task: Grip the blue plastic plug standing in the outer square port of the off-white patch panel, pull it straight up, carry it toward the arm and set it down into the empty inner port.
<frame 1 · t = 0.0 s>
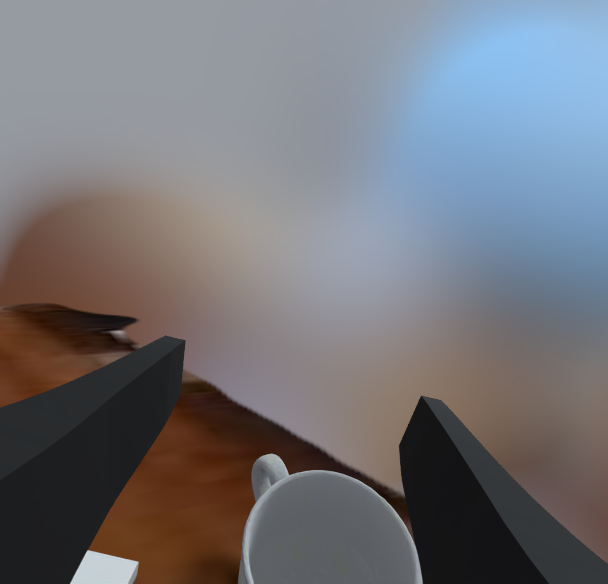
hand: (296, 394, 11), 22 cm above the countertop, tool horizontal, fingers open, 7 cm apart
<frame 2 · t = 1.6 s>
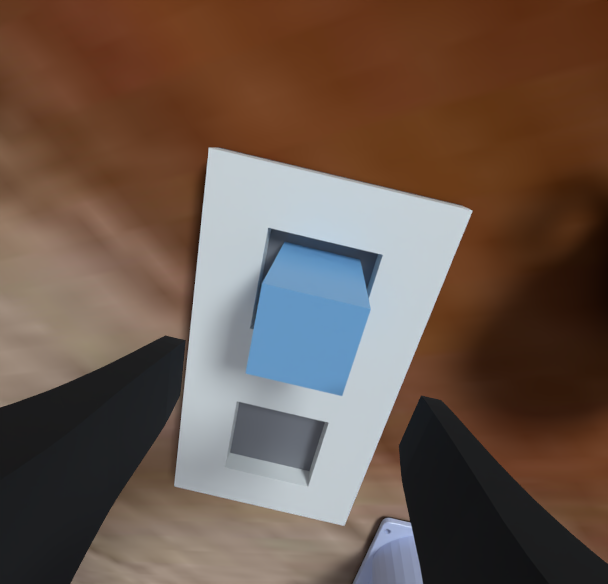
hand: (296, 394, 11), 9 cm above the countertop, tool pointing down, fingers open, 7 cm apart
plug: (313, 285, 19), resting on panel
panel: (294, 362, 21), on the countertop
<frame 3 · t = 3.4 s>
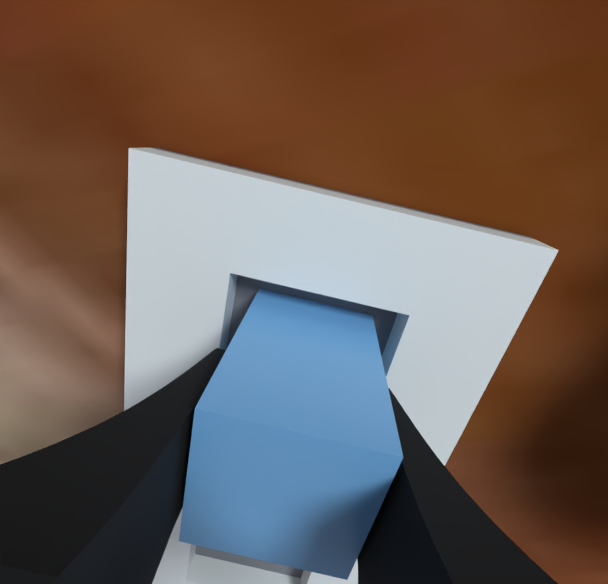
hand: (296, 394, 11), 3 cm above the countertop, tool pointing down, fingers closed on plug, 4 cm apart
plug: (303, 350, 13), resting on panel, touching gripper
panel: (278, 446, 15), on the countertop
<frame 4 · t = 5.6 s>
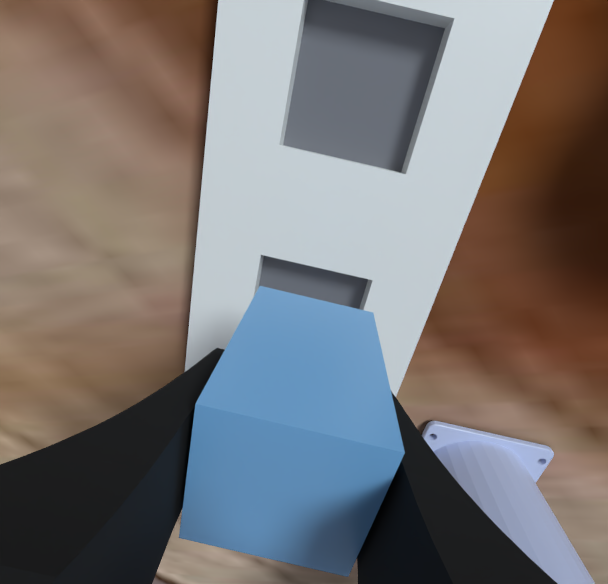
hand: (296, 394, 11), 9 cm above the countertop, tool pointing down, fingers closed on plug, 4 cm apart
plug: (304, 347, 13), point 7 cm above the countertop, touching gripper
panel: (329, 210, 18), on the countertop
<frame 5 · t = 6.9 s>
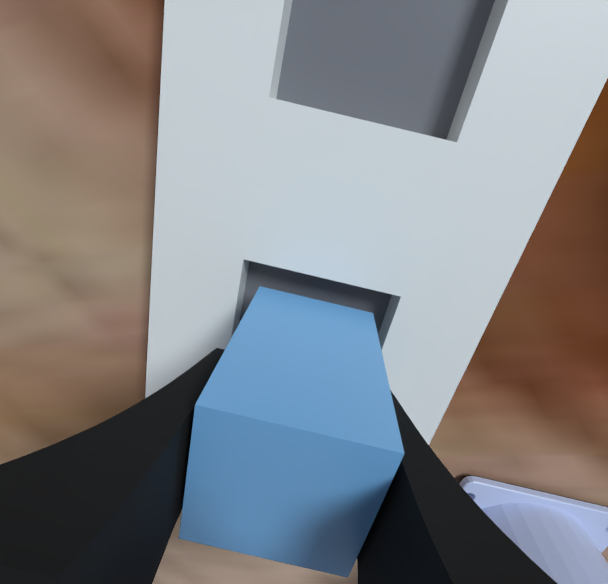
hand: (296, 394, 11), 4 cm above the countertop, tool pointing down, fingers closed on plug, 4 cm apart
plug: (303, 348, 13), point 2 cm above the countertop, touching gripper
panel: (340, 199, 13), on the countertop
when the fingers open (3 cm above the countertop, at t = 8.1 s): plug stays where it is, resting on panel.
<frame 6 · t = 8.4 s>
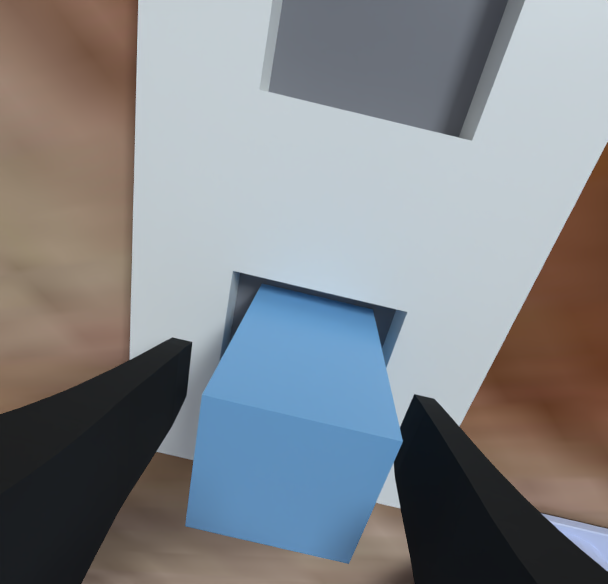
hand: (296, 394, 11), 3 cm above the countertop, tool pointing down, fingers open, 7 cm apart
plug: (305, 344, 13), resting on panel
panel: (340, 203, 11), on the countertop
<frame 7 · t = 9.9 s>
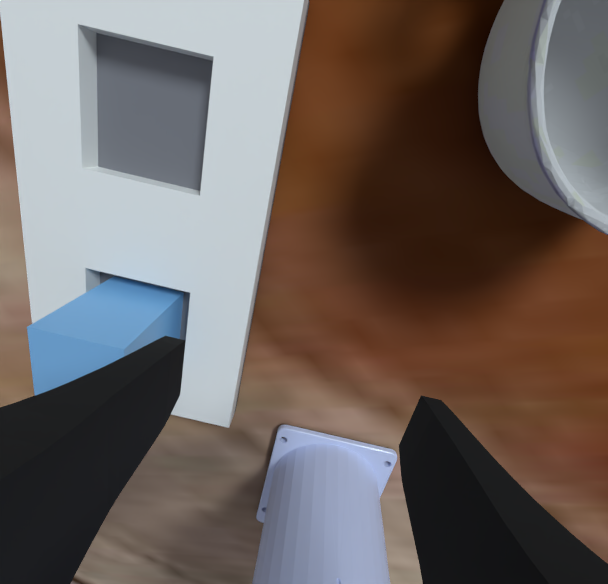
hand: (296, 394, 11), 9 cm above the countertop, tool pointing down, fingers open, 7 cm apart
plug: (147, 315, 20), resting on panel
panel: (154, 227, 19), on the countertop
teacup: (575, 39, 14), on the countertop
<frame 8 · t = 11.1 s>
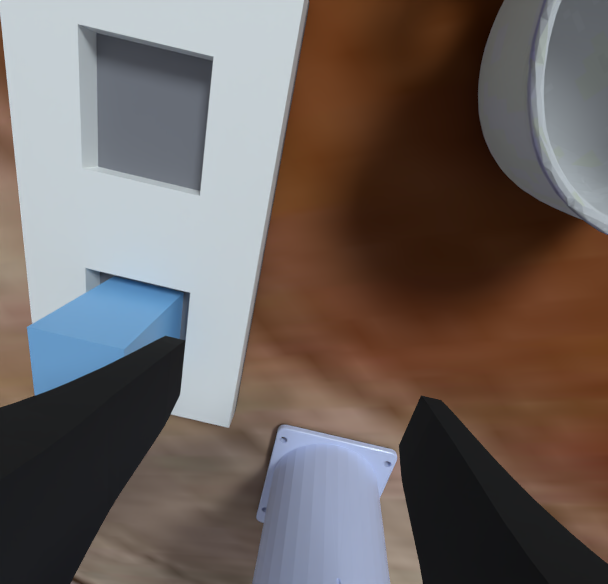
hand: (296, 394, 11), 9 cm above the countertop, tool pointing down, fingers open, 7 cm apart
plug: (147, 315, 20), resting on panel
panel: (154, 227, 19), on the countertop
teacup: (575, 39, 14), on the countertop
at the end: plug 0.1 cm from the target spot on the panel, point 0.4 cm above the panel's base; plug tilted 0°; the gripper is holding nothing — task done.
